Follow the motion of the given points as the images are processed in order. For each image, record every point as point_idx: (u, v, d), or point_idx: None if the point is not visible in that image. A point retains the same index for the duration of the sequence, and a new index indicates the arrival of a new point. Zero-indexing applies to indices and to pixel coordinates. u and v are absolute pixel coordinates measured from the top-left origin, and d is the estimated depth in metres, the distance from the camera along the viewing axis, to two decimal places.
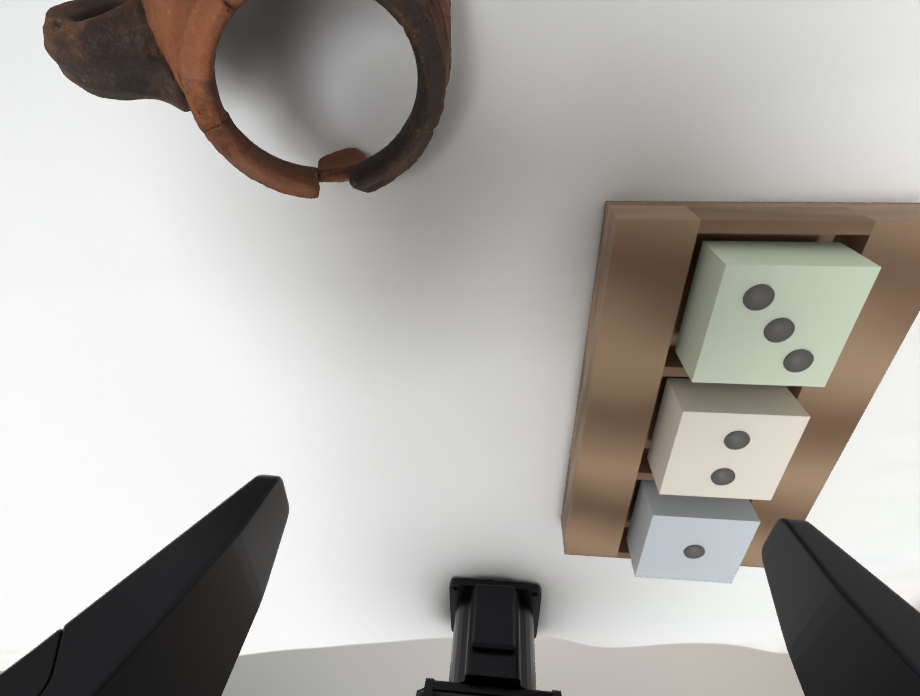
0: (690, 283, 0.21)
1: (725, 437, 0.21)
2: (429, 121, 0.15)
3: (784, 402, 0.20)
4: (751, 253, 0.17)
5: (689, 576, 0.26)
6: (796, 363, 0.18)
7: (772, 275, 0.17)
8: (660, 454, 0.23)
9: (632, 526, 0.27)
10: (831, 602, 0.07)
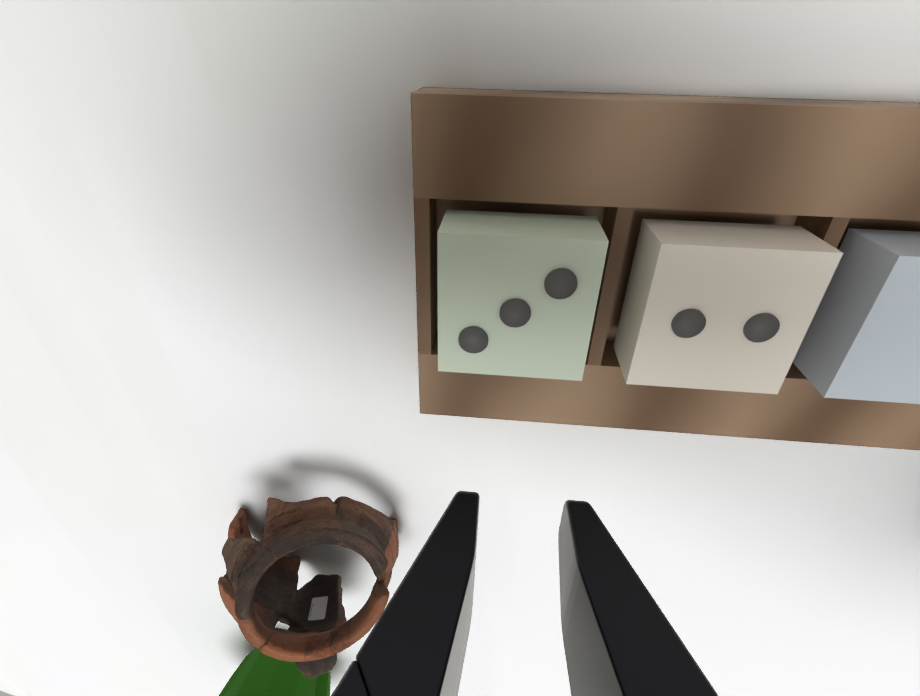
0: None
1: (679, 336, 0.15)
2: (334, 537, 0.23)
3: (649, 252, 0.15)
4: None
5: None
6: (565, 282, 0.15)
7: (449, 331, 0.16)
8: None
9: None
10: (575, 578, 0.07)
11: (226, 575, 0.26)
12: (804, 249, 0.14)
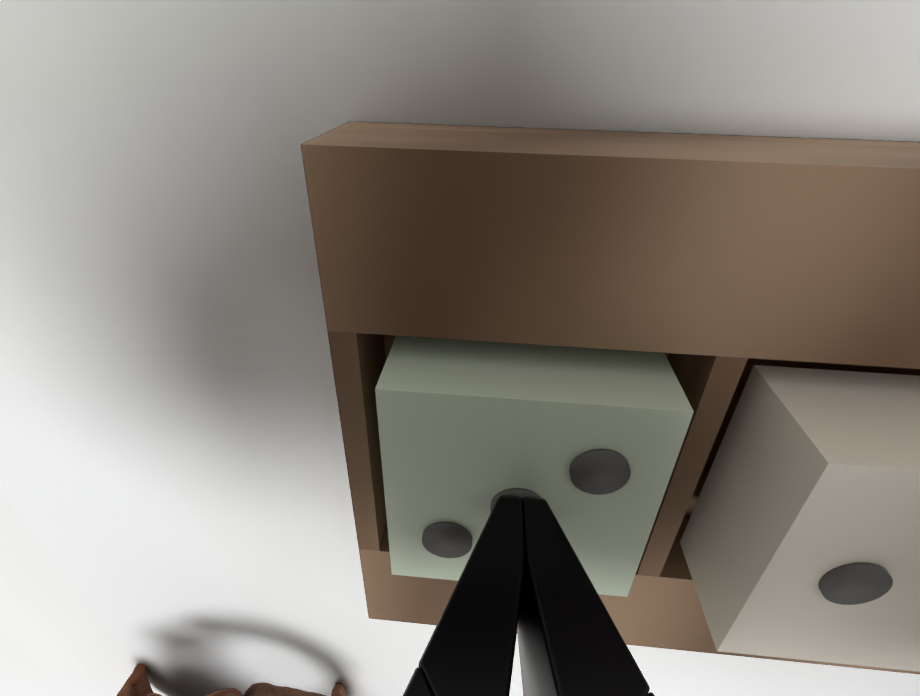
0: None
1: (832, 600, 0.08)
2: None
3: (781, 449, 0.08)
4: None
5: None
6: (606, 468, 0.08)
7: (406, 526, 0.10)
8: None
9: None
10: (524, 573, 0.07)
11: None
12: None
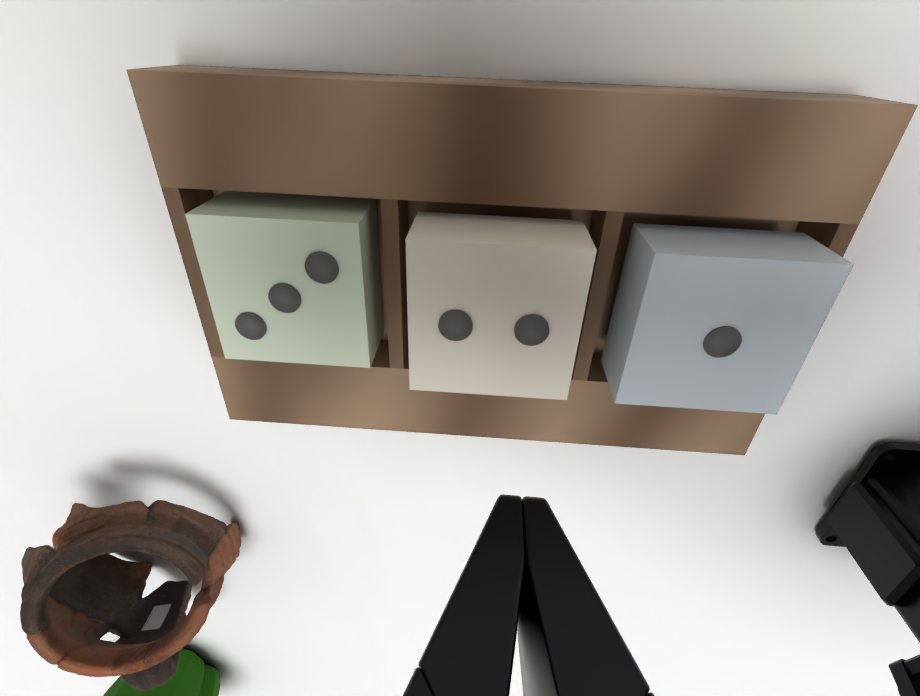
0: None
1: (450, 339, 0.14)
2: (135, 544, 0.21)
3: None
4: None
5: (802, 337, 0.14)
6: (326, 266, 0.14)
7: (225, 317, 0.16)
8: None
9: None
10: (525, 573, 0.07)
11: None
12: (558, 246, 0.13)
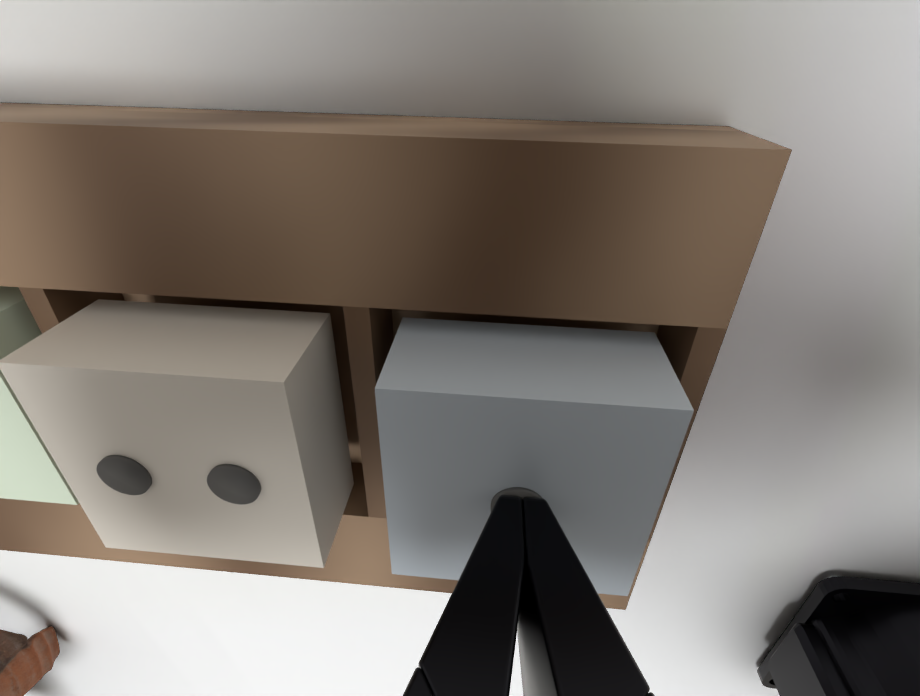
0: None
1: (126, 492, 0.10)
2: None
3: None
4: None
5: (639, 505, 0.09)
6: None
7: None
8: None
9: None
10: (525, 574, 0.07)
11: None
12: (229, 373, 0.08)
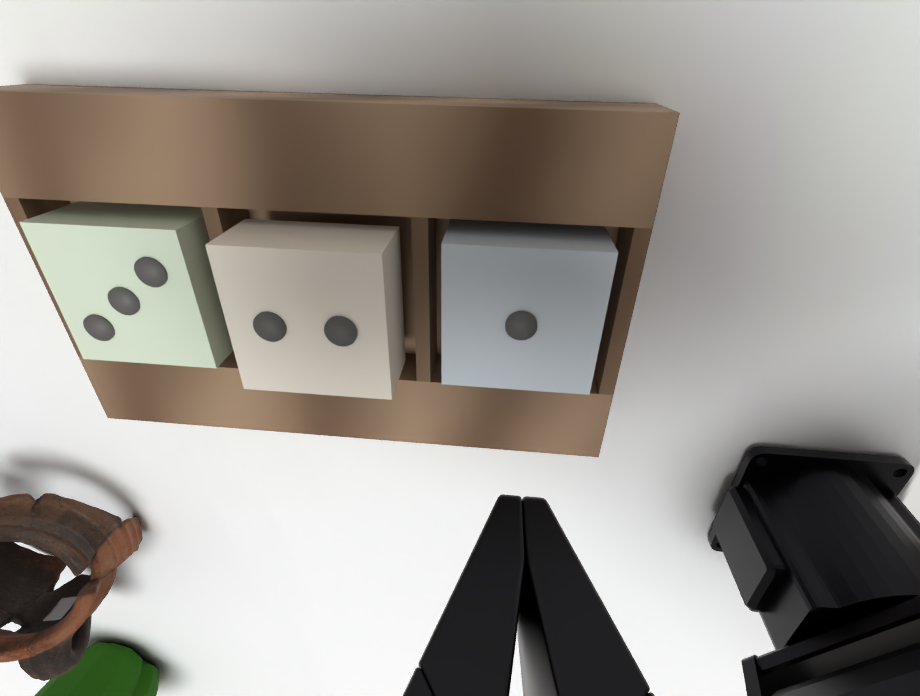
0: None
1: (268, 340, 0.15)
2: (13, 534, 0.22)
3: None
4: None
5: (591, 321, 0.15)
6: (155, 271, 0.15)
7: (75, 319, 0.17)
8: None
9: None
10: (525, 573, 0.07)
11: None
12: (347, 250, 0.13)
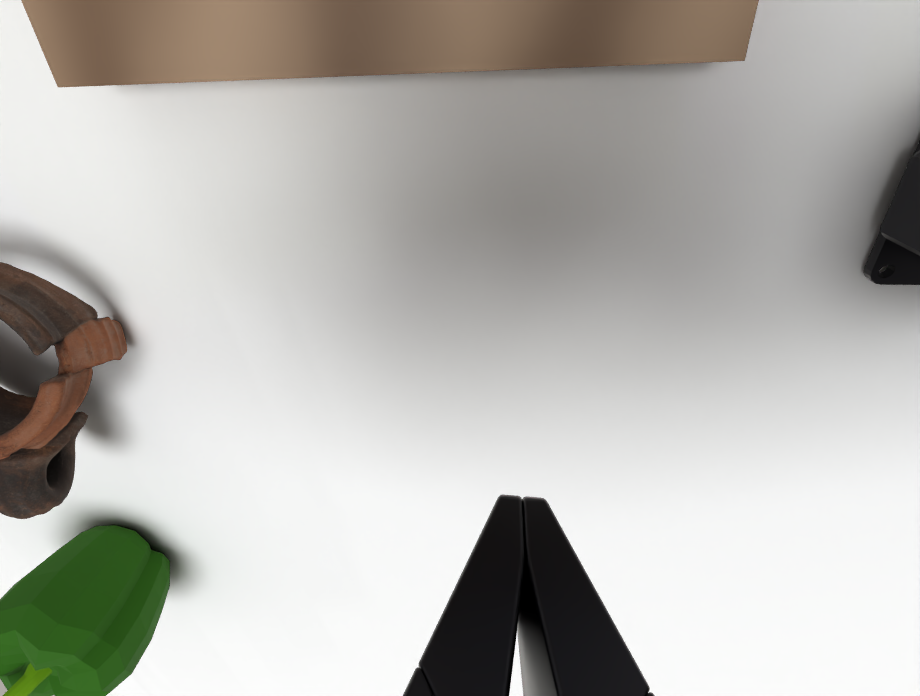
0: None
1: None
2: None
3: None
4: None
5: None
6: None
7: None
8: None
9: None
10: (525, 573, 0.07)
11: None
12: None
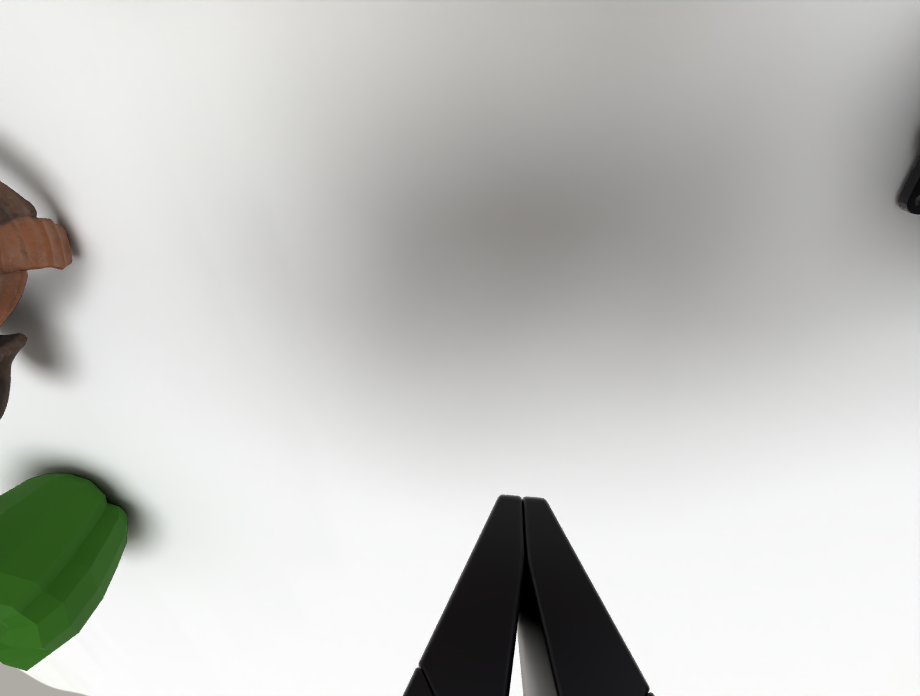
0: None
1: None
2: None
3: None
4: None
5: None
6: None
7: None
8: None
9: None
10: (524, 573, 0.07)
11: None
12: None
